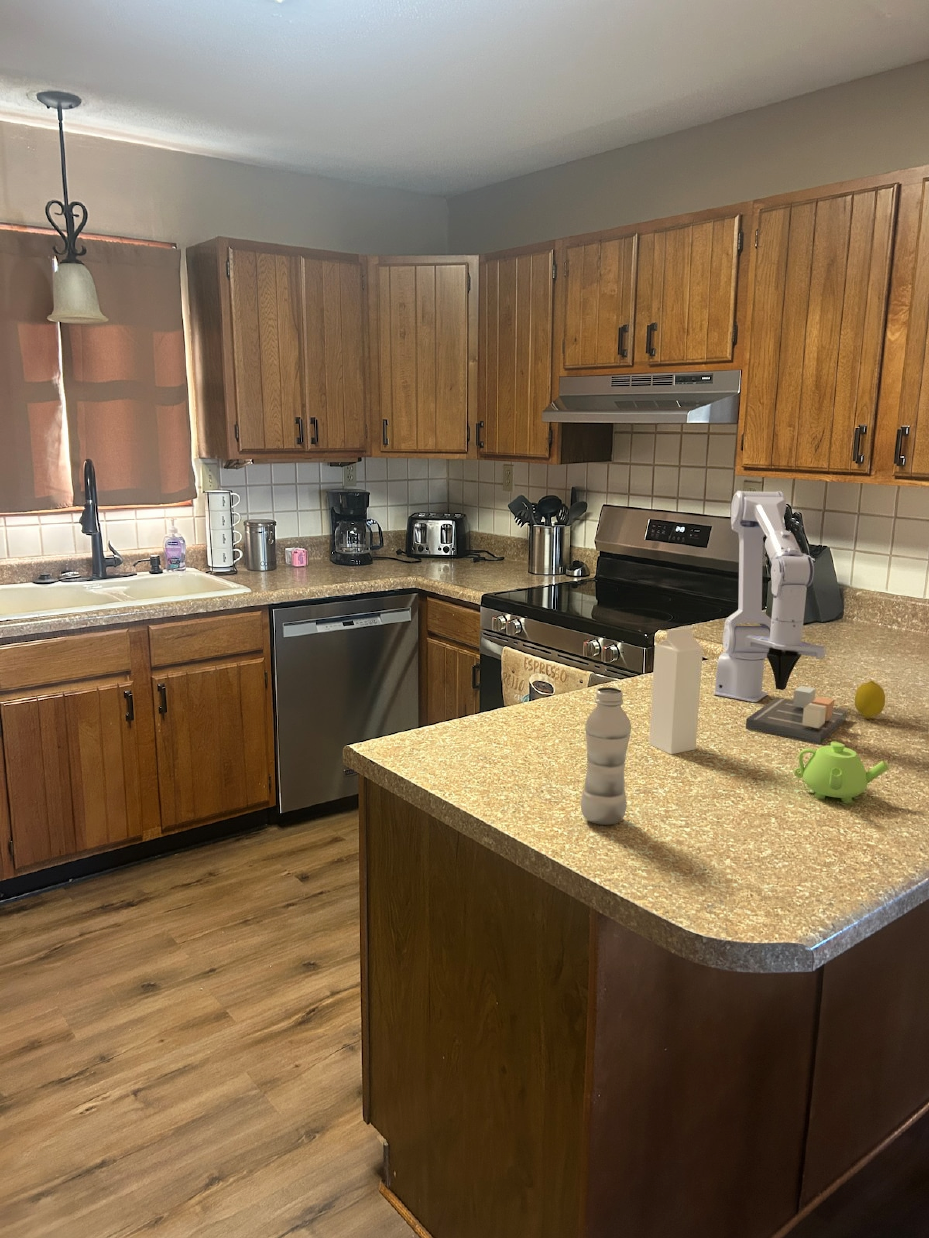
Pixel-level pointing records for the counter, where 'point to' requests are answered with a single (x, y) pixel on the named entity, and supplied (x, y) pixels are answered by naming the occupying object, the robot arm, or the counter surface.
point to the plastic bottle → (606, 759)
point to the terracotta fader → (825, 702)
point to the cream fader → (814, 715)
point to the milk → (676, 692)
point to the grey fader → (803, 696)
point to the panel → (792, 722)
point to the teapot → (836, 772)
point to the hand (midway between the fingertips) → (780, 688)
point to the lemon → (870, 699)
